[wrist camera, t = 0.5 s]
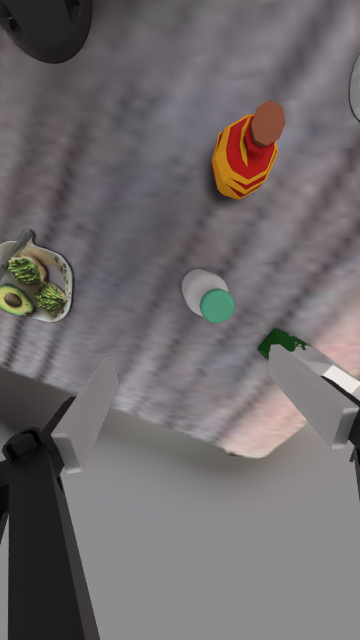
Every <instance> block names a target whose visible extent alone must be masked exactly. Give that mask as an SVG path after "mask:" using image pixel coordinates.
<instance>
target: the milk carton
mask: <svg viewBox="0 0 360 640" xmlns="http://www.w3.org/2000/svg"><path fill="white" fill-rule="evenodd" d="M277 344H280V345H281V346H282V347H284V348H285V349H286V350H288V351H289V352H290V353H291V354H293V355H294V356H295V357H296V358H298V359H299V360H300V361H301V362H303V363H304V364H305V365H306V366H308V367H309V368H310V369H312V370H313V371H314V372H315V373H317V374H318V375H319V376H325V377H327V378H329V379H331V380H333V381H334V382H335V383H337V384H338V385H339V386H340V387H342V388H343V389H345V390H346V391H347V392H349V393H350V394H351V393H352V392H353V391H354V390H355V389H356V388H357V387H358V386H359V385H360V382H359V381H358V380H357V379H356V378H354V377H353V376H352V375H351V374H349V373H348V372H347V371H346V370H344V369H343V368H342V367H341V366H339V365H338V364H337V363H336V362H334V361H333V360H331V359H330V358H329V357H327V356H326V355H324V354H323V353H321V352H320V351H318V350H316V349H315V348H313V347H312V346H310V345H308V344H307V343H305V342H304V341H302V340H300V339H298V338H296V337H295V336H292V335H290V334H288V333H285V332H283V331H280V330H278V329H275V328H274V329H273V331H272V332H271V333H270V334H269V336H268V337H267V338H266V339H265V340H264V342H263V343H262V344H261V345H260V346H259V348H258V350H259V351H260V352H261V354H262V355H263V356H264V357H265V358H266V360H267V361H268V362H269V355H270V347H271V345H277Z"/></svg>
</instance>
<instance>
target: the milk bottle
mask: <svg viewBox="0 0 360 640" xmlns="http://www.w3.org/2000/svg"><path fill="white" fill-rule="evenodd" d="M182 292H183V295H184V298H185V301H186V303H187V305H188V306H189V308H190V309H191V310H192V311H193V312H195V313H196V314H198V315H201V316H204V318H205V319H206V320H208V321H210V322H213V323H221V322H224V321H226V320H227V319H229V318H230V317H231V315H232V314H233V312H234V309H235V302H234V299H233V297H232V295H231V294H230V293H229V292H228V288H227V286H226V284H225V282H224V281H223V280H222V279H221V278H220V277H219V276H217V275H215V274H213V273H211V272H208V271H205V270H201V269H196V270H192V271H190V272H189V273H188V274H187V275H186V276H185V277H184V279H183V281H182Z"/></svg>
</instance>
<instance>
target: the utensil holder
mask: <svg viewBox="0 0 360 640" xmlns="http://www.w3.org/2000/svg"><path fill="white" fill-rule="evenodd" d="M350 102H351V107H352V109H353V112H354V114H355V116H356V117H357V118H358V119H359V120H360V54H359V56H358V58H357V60H356V63H355V65H354V68H353V72H352V76H351V81H350Z"/></svg>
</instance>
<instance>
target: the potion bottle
mask: <svg viewBox="0 0 360 640" xmlns="http://www.w3.org/2000/svg"><path fill="white" fill-rule="evenodd" d="M284 125H285V118H284V113H283V108H282V106H280V105H278V104H277V103H275V102H273V101H271V100H270V101H268V102H266V103H264V104H263V105H261V106H259V107H258V108H257V110H256V113H255V114H254V115H251V114H248V115H246V116H244V117H243V118H241V119H239V120H238V121H236V122H234V123H232V124H231V125H229V126H227V127H226V128H225V130H224V131H223V132H221V133H219V135H218V138H217V142H216V146H215V149H214V153H213V157H212V162H211V169H212V172H213V175H214V178H215V181H216V184H217V189H218V190H219V191H220V192H221V193H222V194H223V195H225V196H229V197H231V198H234V199H236V200H237V199H241V198H243V197H245V196H247V195H248V194H250V193H252V192H254V191H256V190H257V189H258V188H259V187H260V186H261V185H262V183H264V182H265V181H266V179H267V177H268V175H269V172H270V170H271V168H272V166H273V164H274V162H275V159H276V157H277V155H278V149H277V145H276V140H278V139H279V138H280V135H281V133H282V130H283V128H284ZM218 140H219V141H218ZM275 154H276V155H275ZM274 156H275V158H274ZM273 159H274V160H273ZM272 161H273V162H272ZM271 163H272V164H271ZM270 166H271V167H270ZM269 168H270V169H269ZM266 175H267V176H266ZM246 193H247V194H246ZM243 195H244V196H243ZM241 196H242V197H241Z"/></svg>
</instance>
